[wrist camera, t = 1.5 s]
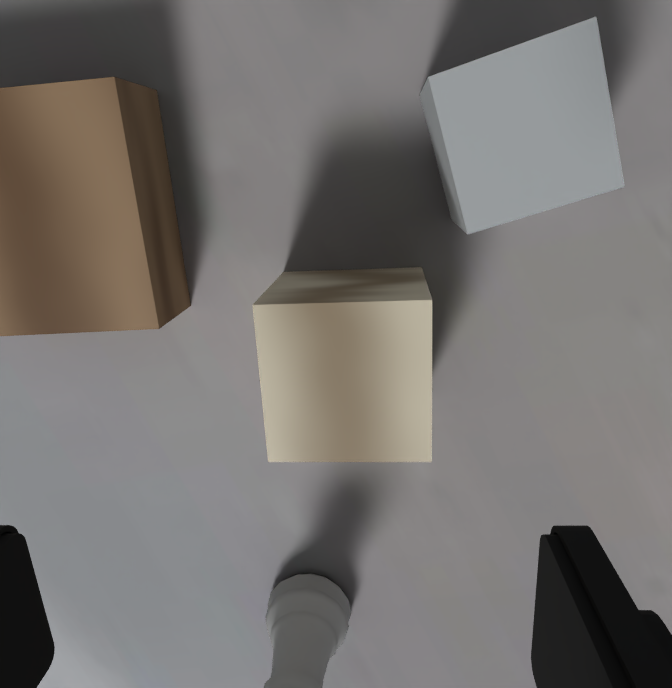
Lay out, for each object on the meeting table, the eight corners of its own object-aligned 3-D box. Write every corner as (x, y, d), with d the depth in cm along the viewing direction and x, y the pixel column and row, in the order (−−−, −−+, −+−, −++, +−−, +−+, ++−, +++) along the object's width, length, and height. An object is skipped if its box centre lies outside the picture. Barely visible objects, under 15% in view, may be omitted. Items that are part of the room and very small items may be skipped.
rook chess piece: (269, 564, 29) (228, 704, 22) (353, 572, 29) (341, 717, 21) (269, 630, 31) (230, 783, 23) (349, 638, 30) (336, 797, 23)
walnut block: (160, 91, 23) (114, 76, 19) (193, 304, 25) (159, 328, 22) (-42, 110, 24) (-124, 100, 20) (11, 313, 26) (-52, 338, 23)
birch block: (421, 266, 24) (432, 299, 18) (421, 395, 26) (431, 462, 20) (284, 271, 24) (252, 304, 19) (294, 396, 26) (268, 461, 20)
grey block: (548, 49, 21) (596, 16, 16) (573, 181, 22) (624, 186, 17) (419, 95, 22) (428, 76, 17) (451, 219, 23) (467, 234, 18)
